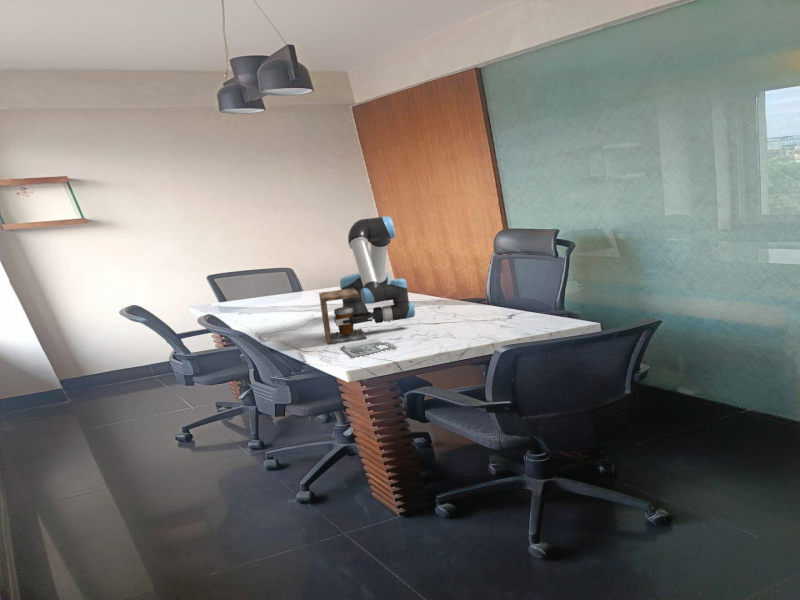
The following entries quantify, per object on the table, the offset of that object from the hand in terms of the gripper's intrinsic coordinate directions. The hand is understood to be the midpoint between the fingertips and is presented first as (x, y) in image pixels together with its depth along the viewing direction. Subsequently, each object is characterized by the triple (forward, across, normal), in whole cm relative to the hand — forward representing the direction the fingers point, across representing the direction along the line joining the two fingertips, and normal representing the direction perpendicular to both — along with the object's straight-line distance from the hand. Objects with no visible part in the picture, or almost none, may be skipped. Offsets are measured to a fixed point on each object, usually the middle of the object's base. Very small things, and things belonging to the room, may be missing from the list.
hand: (335, 321), depth 319 cm
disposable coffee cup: (-5, 0, -7) cm, 8 cm away
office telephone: (-11, -32, -9) cm, 35 cm away
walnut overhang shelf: (-4, 0, -8) cm, 9 cm away
